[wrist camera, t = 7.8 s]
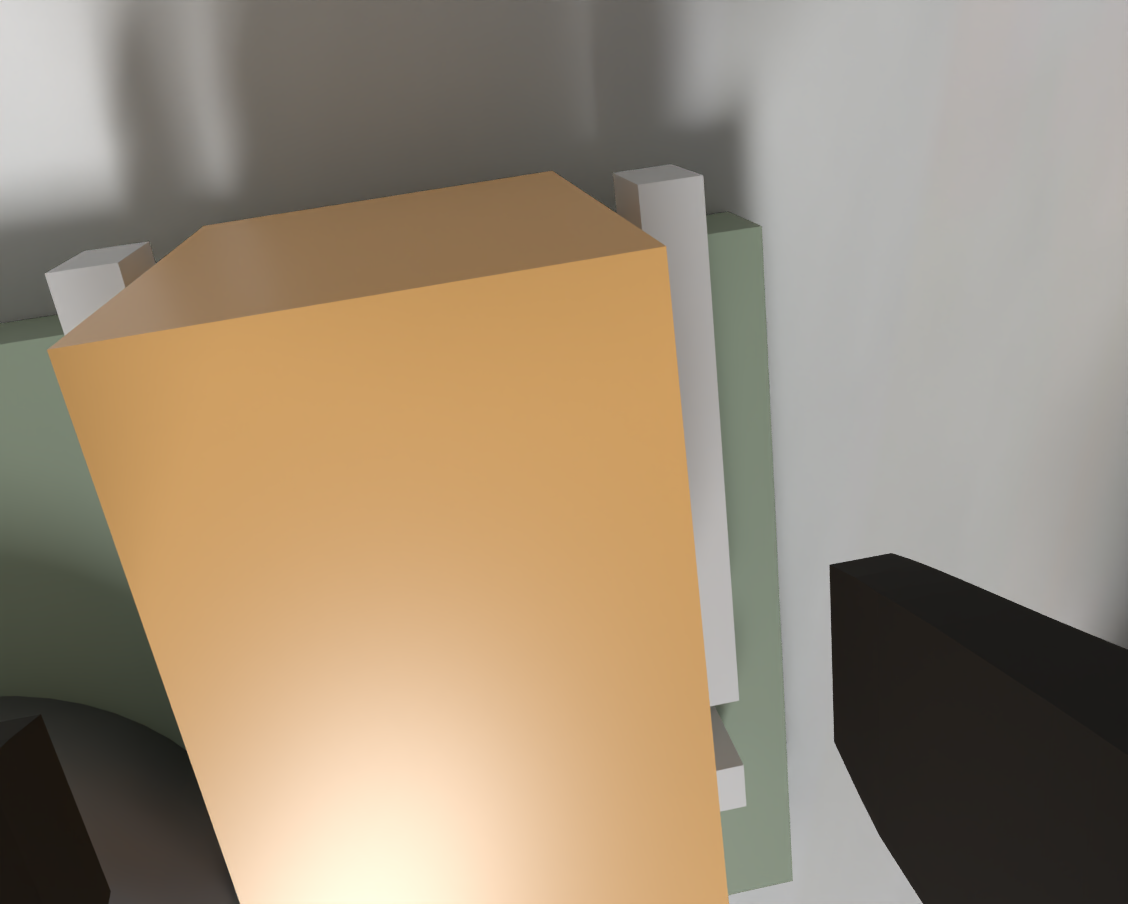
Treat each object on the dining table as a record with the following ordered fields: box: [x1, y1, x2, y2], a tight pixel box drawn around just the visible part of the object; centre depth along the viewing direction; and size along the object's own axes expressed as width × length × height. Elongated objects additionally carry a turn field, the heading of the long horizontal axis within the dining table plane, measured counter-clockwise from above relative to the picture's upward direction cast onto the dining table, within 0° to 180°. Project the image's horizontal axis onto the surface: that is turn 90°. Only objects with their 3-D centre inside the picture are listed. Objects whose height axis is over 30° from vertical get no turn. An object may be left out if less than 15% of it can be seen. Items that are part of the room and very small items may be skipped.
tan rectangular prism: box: [47, 171, 729, 904], centre depth 11 cm, size 4×8×6 cm, turn 8°
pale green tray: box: [0, 164, 793, 904], centre depth 14 cm, size 16×13×4 cm
